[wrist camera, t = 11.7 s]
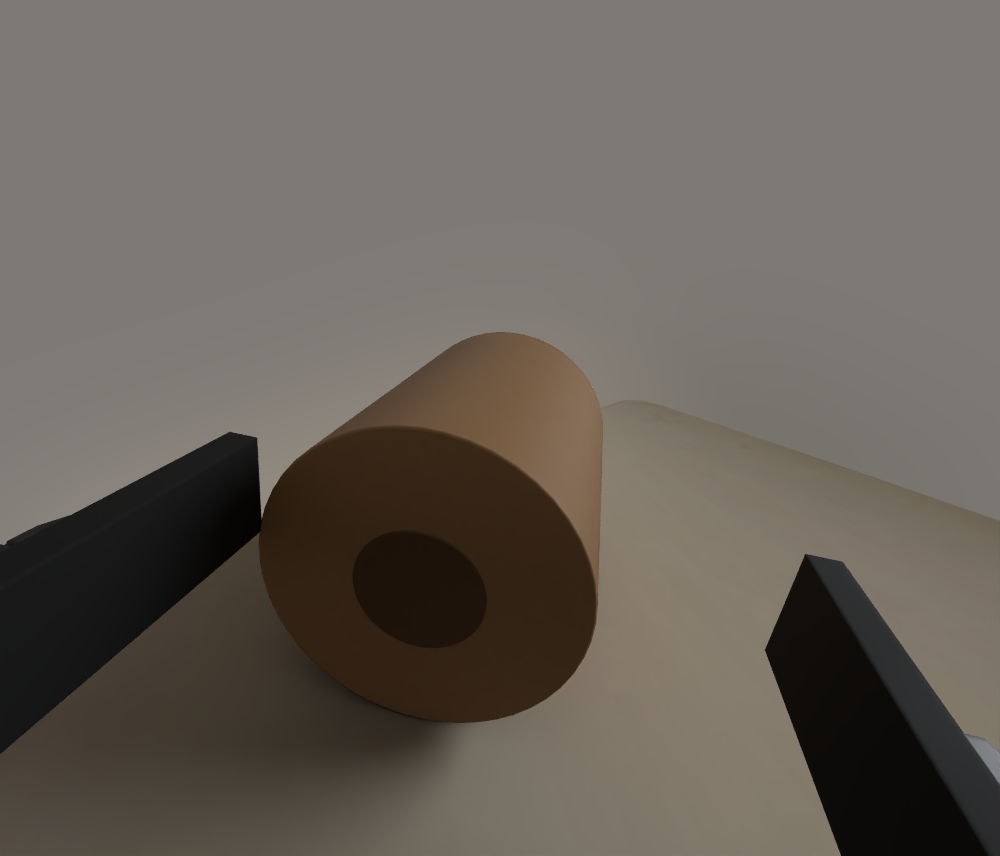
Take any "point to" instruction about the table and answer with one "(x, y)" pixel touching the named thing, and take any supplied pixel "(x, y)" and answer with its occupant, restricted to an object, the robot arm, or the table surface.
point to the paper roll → (448, 535)
